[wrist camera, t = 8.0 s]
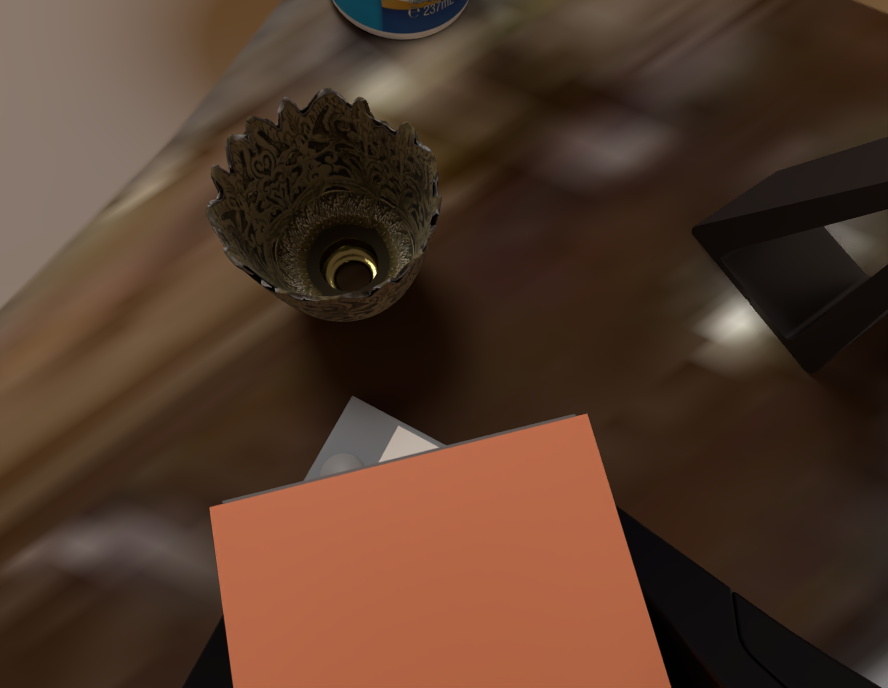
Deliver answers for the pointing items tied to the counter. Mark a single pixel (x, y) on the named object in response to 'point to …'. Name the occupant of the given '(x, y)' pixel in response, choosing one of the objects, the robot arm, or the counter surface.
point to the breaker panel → (367, 440)
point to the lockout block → (439, 573)
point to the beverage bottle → (401, 16)
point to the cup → (327, 205)
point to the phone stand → (805, 251)
